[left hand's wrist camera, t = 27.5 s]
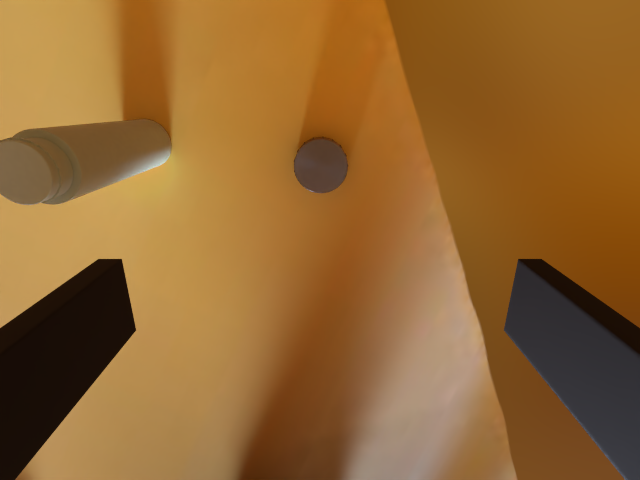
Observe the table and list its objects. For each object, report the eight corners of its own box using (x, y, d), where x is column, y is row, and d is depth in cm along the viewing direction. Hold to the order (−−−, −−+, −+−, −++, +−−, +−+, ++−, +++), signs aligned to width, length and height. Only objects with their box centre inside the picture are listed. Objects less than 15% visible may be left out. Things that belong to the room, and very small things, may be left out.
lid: (312, 198, 40) (312, 203, 38) (284, 155, 38) (282, 158, 36) (356, 171, 39) (358, 175, 37) (328, 126, 37) (329, 127, 35)
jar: (167, 119, 37) (49, 131, 21) (174, 167, 39) (69, 213, 23) (120, 118, 37) (-36, 131, 21) (128, 167, 39) (-10, 213, 23)
